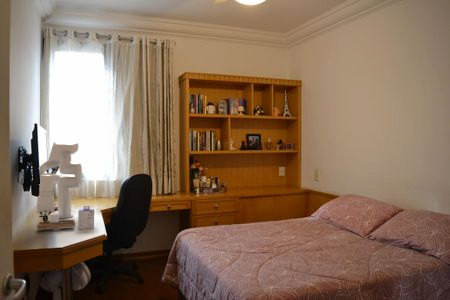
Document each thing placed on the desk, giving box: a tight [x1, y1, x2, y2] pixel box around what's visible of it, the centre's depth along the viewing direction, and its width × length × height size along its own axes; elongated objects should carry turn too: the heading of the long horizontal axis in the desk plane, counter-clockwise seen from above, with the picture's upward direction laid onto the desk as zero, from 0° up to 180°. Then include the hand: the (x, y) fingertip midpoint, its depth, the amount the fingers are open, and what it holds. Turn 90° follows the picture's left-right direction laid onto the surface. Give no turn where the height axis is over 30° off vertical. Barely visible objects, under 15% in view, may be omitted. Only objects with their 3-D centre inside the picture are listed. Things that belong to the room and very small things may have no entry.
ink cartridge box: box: [77, 205, 95, 230], centre depth 229 cm, size 10×6×14 cm, turn 109°
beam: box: [36, 219, 76, 232], centre depth 223 cm, size 9×22×5 cm, turn 117°
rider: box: [49, 212, 60, 223], centre depth 222 cm, size 4×5×6 cm
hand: (45, 221), depth 220 cm, fingers closed
